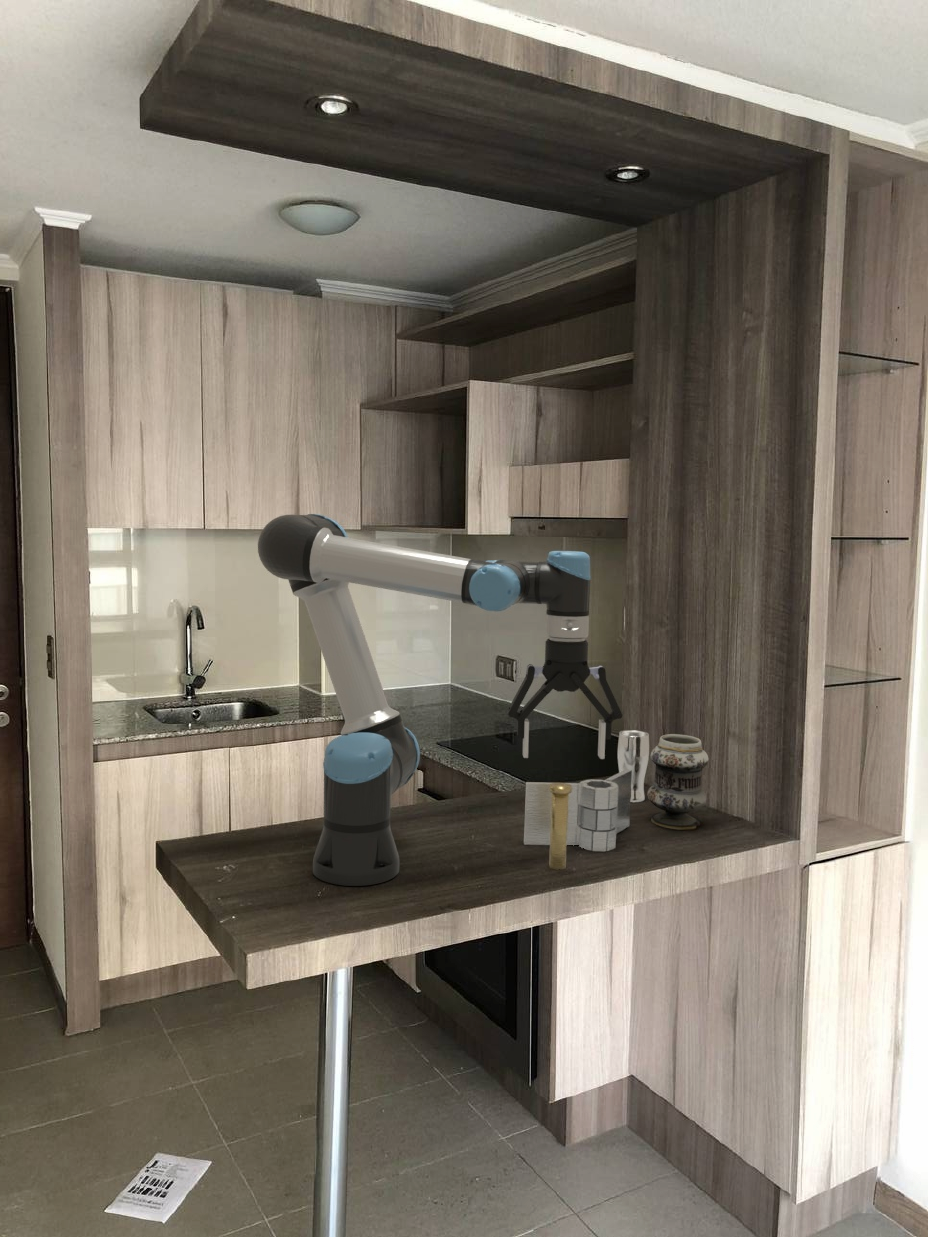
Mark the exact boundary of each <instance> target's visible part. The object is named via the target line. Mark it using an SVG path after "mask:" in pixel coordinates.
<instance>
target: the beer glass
mask: <svg viewBox="0 0 928 1237" xmlns="http://www.w3.org/2000/svg"><path fill="white" fill-rule="evenodd" d="M649 736H650V734H649V732H646V731H642V730H633V729H632V730H629V729H628V730H626V729H625V730H621V731H619V736H618V743H617V764H618V773H620V772H622V771H624V770H626V769H627V770H632V778H631V798H630V803H642V802H643V801H645V798H646V797H645V789H644V788H645V787H644V785H645V776H646V772H647V767H648V764H649V760H650V759H649V757H650V737H649Z"/></svg>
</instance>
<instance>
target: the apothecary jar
mask: <svg viewBox="0 0 928 1237" xmlns="http://www.w3.org/2000/svg"><path fill="white" fill-rule="evenodd" d="M708 755H709V754H707V752H706V751H705V750H704V749H703V747H702V740H701V739H700V738H698V737H695V736H692V735H687V734H678V733H670V734H669V733H668V734H664V735H661V736H660V738H659V742H658V744H657V745H656V746H654V747H653V749H651V752H650V760H651V761H652V762H653V763H654V764H655V774H654V780H653V781H654V782H653V784H652V785H650V787H649V788H648V790H647V793H646V794H647V798H648V801H649V802H650V803H651V804H652V805H653V806H655V807H656V808H658V809H660V810H662V811H663V812H661V813H657V814H654V815H653V816H652V817H651V822H652V823H653V824H654V825H656V826H658V827H661V828H663V829H664V828H665V829H669V830H675V831H676V830H680V831H681V830H682V831H684V830H685V831H687V830H688V831H689V830H694V829H696V828H697V826H700V821H699V820H697V818H695V817H693V816H691V815H689V814H688V813H693V812H696V811H699V810H701V809H702V808H703V807H704V805H706V802H707V795H706V792H704V790H703V789H702V775H703V774H702V773H703V769H704V768H706V766H707V765H708V763H709V756H708Z"/></svg>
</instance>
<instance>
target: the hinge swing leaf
mask: <svg viewBox="0 0 928 1237" xmlns="http://www.w3.org/2000/svg"><path fill="white" fill-rule="evenodd" d="M631 778H632V770H627V769H626V770H624V771H622V772H620V773H619V772H618V773H615V774H613V775H612V776H610V777H608V778H606V779H604V780H607V781H611V782H614V783H616V784H617V785H618V805H617V807H614V808H611V809H591V808H588V807H584V806H582V805H581V804H578V814H577V825H578V824H579V825H580V826H581V827H583V828H587V829H591V830H597V831H598V830H611V829H613V828H615V827H616V835H618V833H620V832H622V831H624V830H625V829H626V828H627V829H628V828H629V827H630V816H631V812H630V811H631V802H630V798H631Z"/></svg>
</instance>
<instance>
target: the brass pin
mask: <svg viewBox="0 0 928 1237" xmlns="http://www.w3.org/2000/svg"><path fill="white" fill-rule="evenodd" d="M550 783H551V784H550V785H549V791H550V792H551V793H552V803H551V829H550V845H549V859H548V860H549V861H548V867H549V868H550V869H553V870H559V869H560V870H564V869H566V866H567V848H568V847H567V823H568V798H569V793H571V792H572V786H571V785H570V784H567V783H568V782H550Z"/></svg>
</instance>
